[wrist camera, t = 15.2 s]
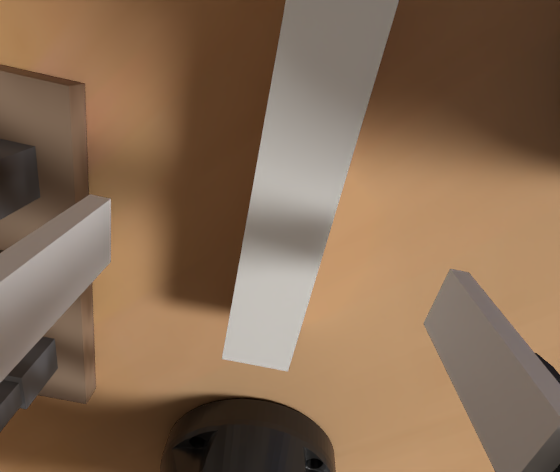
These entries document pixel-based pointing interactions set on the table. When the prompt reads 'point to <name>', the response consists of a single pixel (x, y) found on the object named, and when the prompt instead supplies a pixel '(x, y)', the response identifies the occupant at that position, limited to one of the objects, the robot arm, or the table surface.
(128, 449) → the table surface
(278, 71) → the white slab
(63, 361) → the cable cradle
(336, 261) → the table surface
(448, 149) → the table surface
